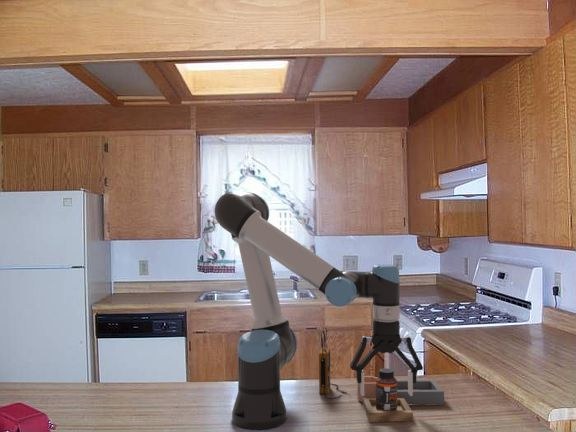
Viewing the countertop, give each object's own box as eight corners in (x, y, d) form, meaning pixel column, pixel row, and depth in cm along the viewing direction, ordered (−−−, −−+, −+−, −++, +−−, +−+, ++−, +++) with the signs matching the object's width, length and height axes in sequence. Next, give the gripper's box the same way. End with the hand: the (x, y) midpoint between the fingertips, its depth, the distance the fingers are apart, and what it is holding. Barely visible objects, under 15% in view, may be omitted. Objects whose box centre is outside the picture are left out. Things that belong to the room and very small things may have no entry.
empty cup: (358, 403, 153) (358, 383, 153) (356, 395, 160) (355, 376, 160) (382, 403, 153) (382, 383, 153) (378, 395, 160) (378, 376, 160)
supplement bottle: (392, 415, 141) (392, 374, 140) (372, 411, 144) (372, 371, 144) (400, 408, 146) (399, 369, 146) (380, 404, 149) (380, 366, 149)
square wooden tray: (368, 421, 139) (368, 412, 139) (363, 406, 150) (363, 397, 150) (412, 421, 139) (412, 412, 139) (404, 406, 150) (403, 397, 150)
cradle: (389, 405, 151) (389, 391, 151) (383, 392, 162) (383, 379, 162) (444, 405, 151) (443, 391, 151) (434, 392, 162) (433, 379, 162)
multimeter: (349, 400, 155) (349, 335, 155) (317, 398, 157) (316, 333, 157) (353, 385, 170) (352, 325, 170) (323, 383, 172) (323, 324, 172)
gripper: (343, 322, 141) (343, 398, 141) (433, 322, 141) (434, 399, 141) (340, 316, 149) (341, 389, 149) (426, 316, 148) (427, 389, 148)
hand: (386, 394), depth 145 cm, fingers open, 13 cm apart
